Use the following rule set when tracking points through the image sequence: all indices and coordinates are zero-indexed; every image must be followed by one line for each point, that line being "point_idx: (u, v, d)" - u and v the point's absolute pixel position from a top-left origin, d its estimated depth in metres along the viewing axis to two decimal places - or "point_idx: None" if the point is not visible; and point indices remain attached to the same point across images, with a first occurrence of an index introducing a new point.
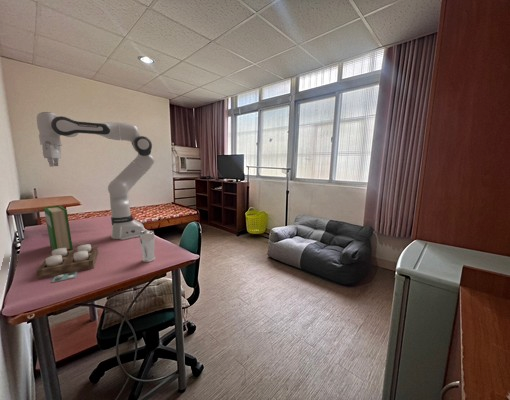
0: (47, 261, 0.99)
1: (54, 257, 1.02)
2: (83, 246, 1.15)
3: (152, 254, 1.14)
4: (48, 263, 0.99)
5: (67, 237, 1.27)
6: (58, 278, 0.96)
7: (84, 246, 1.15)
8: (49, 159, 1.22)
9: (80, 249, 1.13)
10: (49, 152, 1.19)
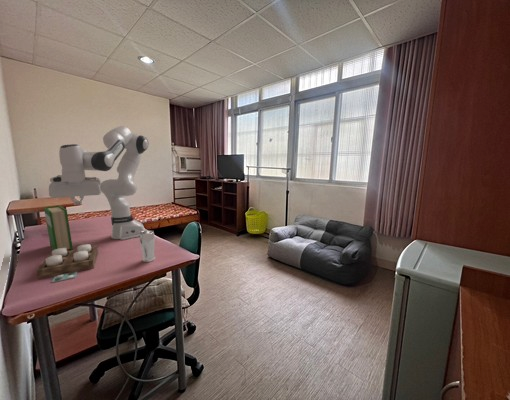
0: (47, 261, 0.99)
1: (54, 257, 1.02)
2: (83, 246, 1.15)
3: (152, 254, 1.14)
4: (48, 263, 0.99)
5: (67, 237, 1.27)
6: (58, 278, 0.96)
7: (84, 246, 1.15)
8: (83, 197, 1.12)
9: (80, 249, 1.13)
10: (100, 188, 1.16)
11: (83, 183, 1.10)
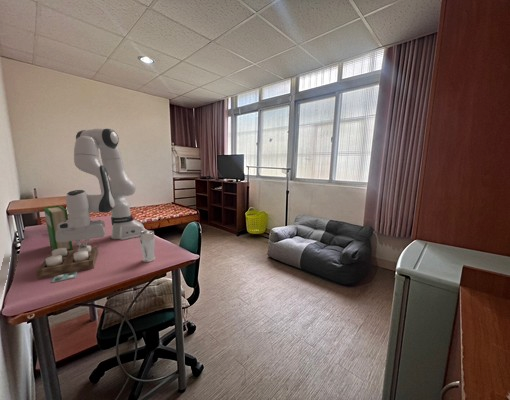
0: (47, 261, 0.99)
1: (54, 257, 1.02)
2: None
3: (152, 254, 1.14)
4: (48, 263, 0.99)
5: None
6: (58, 278, 0.96)
7: None
8: (88, 239, 1.16)
9: (80, 250, 1.13)
10: (104, 230, 1.20)
11: (88, 227, 1.14)
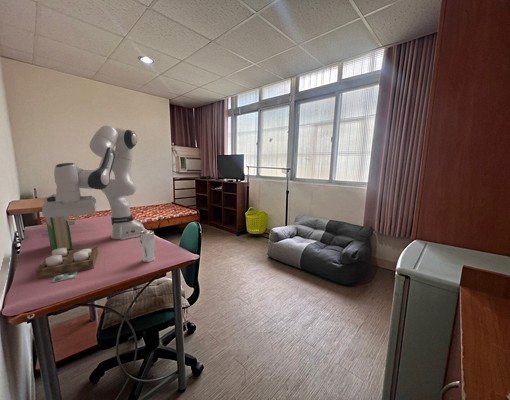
0: (47, 261, 0.99)
1: (54, 257, 1.02)
2: (84, 250, 1.15)
3: (152, 254, 1.14)
4: (48, 263, 0.99)
5: (67, 237, 1.27)
6: (58, 278, 0.96)
7: (85, 250, 1.15)
8: (77, 216, 1.09)
9: None
10: (95, 207, 1.14)
11: (78, 202, 1.07)
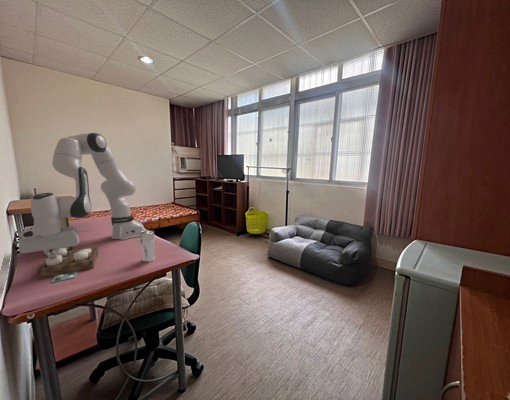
0: (47, 261, 0.99)
1: None
2: (84, 250, 1.15)
3: (152, 254, 1.14)
4: (48, 263, 1.00)
5: None
6: (58, 278, 0.96)
7: (85, 250, 1.15)
8: (58, 248, 1.02)
9: None
10: (78, 237, 1.06)
11: (58, 235, 1.00)
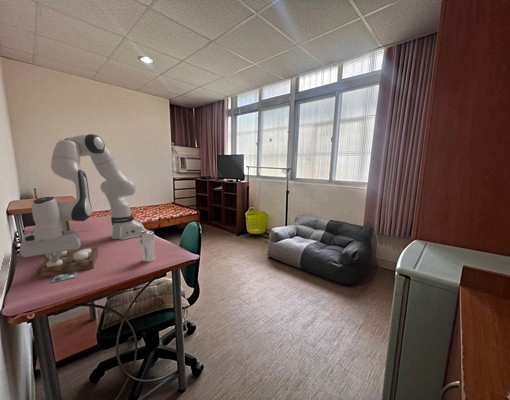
0: (48, 266, 1.00)
1: None
2: (84, 250, 1.15)
3: (152, 254, 1.14)
4: None
5: None
6: (58, 278, 0.96)
7: (85, 250, 1.15)
8: (60, 252, 1.03)
9: None
10: (79, 241, 1.07)
11: (60, 238, 1.01)
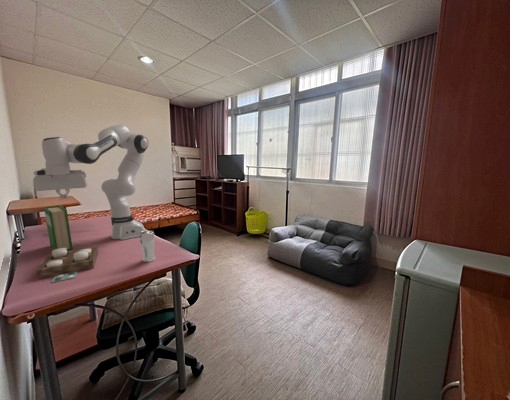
0: (48, 266, 1.00)
1: (55, 261, 1.03)
2: (84, 250, 1.15)
3: (152, 254, 1.14)
4: None
5: (67, 237, 1.27)
6: (58, 278, 0.96)
7: (85, 250, 1.15)
8: (69, 189, 1.12)
9: None
10: None
11: (68, 176, 1.10)
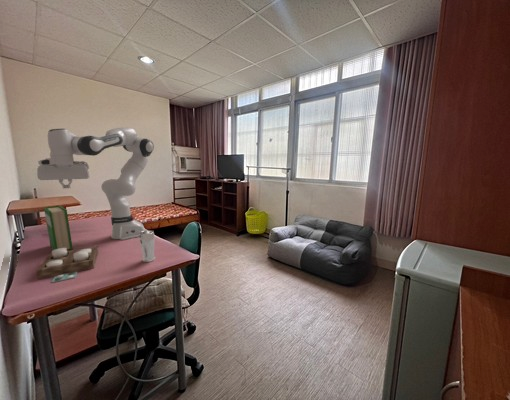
0: (48, 266, 1.00)
1: (55, 261, 1.03)
2: (84, 250, 1.15)
3: (152, 254, 1.14)
4: None
5: (67, 237, 1.27)
6: (58, 278, 0.96)
7: (85, 250, 1.15)
8: (71, 180, 1.15)
9: None
10: (88, 172, 1.19)
11: (71, 167, 1.13)
